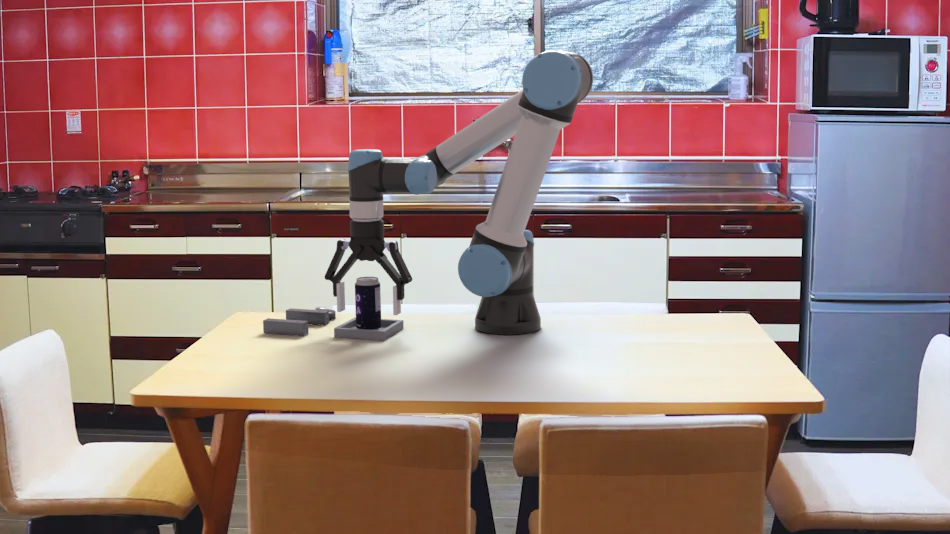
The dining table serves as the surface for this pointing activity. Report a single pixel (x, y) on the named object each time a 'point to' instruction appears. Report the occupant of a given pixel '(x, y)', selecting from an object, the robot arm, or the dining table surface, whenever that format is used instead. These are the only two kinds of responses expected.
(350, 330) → the tray
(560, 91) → the robot arm
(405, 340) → the dining table surface
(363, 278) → the beverage can
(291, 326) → the rails
